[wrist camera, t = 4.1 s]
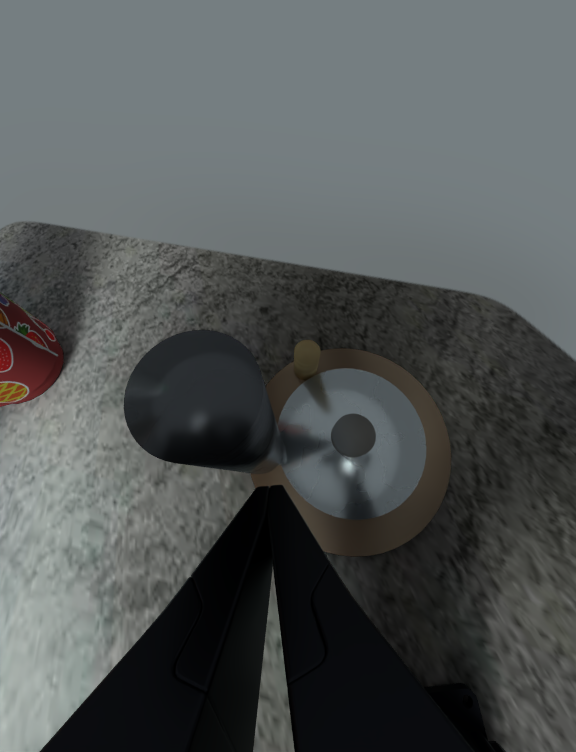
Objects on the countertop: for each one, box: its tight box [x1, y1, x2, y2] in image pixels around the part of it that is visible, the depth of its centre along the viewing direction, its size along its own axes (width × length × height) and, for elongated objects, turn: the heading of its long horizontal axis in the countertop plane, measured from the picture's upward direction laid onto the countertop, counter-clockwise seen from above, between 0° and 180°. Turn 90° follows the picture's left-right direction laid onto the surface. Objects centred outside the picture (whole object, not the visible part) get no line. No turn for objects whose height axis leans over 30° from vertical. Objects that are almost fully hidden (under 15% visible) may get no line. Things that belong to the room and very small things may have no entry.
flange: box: [124, 330, 426, 520], centre depth 12 cm, size 11×9×13 cm
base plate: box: [251, 340, 451, 557], centre depth 17 cm, size 13×13×4 cm
